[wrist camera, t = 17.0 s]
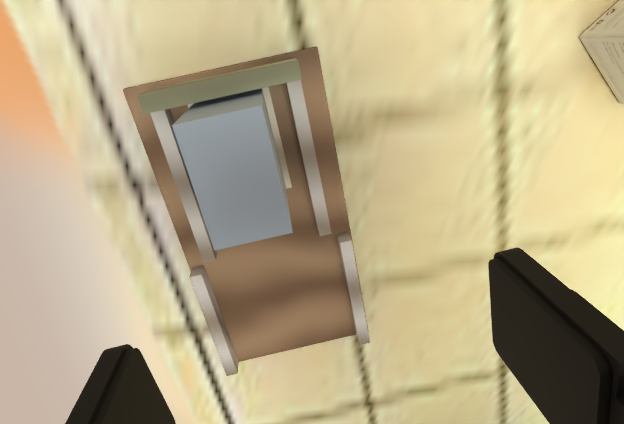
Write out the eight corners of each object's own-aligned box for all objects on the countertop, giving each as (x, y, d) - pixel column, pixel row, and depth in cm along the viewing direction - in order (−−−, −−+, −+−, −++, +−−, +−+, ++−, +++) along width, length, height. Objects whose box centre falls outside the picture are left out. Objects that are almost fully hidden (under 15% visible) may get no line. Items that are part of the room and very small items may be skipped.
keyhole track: (367, 328, 40) (376, 353, 37) (226, 361, 40) (223, 389, 37) (316, 46, 30) (322, 48, 27) (124, 88, 29) (108, 95, 26)
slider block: (286, 189, 33) (292, 232, 26) (225, 202, 33) (214, 250, 26) (261, 88, 30) (261, 105, 23) (194, 103, 30) (171, 125, 23)
